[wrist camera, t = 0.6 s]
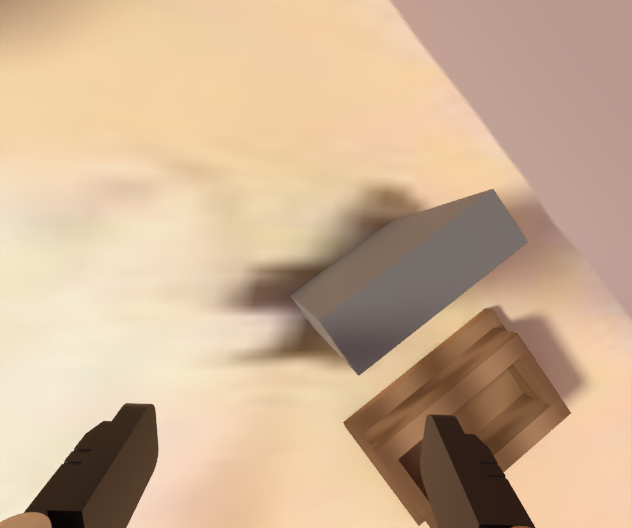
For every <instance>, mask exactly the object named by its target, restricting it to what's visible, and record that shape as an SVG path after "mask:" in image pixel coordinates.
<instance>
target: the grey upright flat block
mask: <svg viewBox="0 0 632 528" xmlns="http://www.w3.org/2000/svg"><path fill="white" fill-rule="evenodd" d="M526 243H528V241H527V240H526V238H525V237H524V235H523V234H522V232H521V231H520V229H519V228H518V226H517V225H516V223H515V222H514V220H513V219H512V217H511V215H510V214H509V212H508V211H507V209H506V208H505V206H504V205H503V203H502V202H501V200H500V199H499V197H498V196H497V194H496V192H495V191H494V189H491V190H488V191H485V192H481V193H478V194H475V195H472V196H469V197H466V198H463V199H459V200H456V201H453V202H450V203H447V204H444V205H441V206H437V207H434V208H431V209H428V210H425V211H422V212H418V213H415V214H412V215H409V216H406V217H403V218H400V219H396V220H393V221H390V222H389V223H387V224H386V225H385V226H383V227H382V228H381V229H379V230H378V231H377V232H375V233H374V234H373V235H371V236H370V237H368V238H367V239H366V240H364V241H363V242H362V243H360V244H359V245H358V246H356V247H355V248H354V249H352V250H351V251H349V252H348V253H347V254H345V255H344V256H343V257H341V258H340V259H339V260H337V261H336V262H335V263H333V264H332V265H330V266H329V267H328V268H326V269H325V270H324V271H322V272H321V273H320V274H318V275H317V276H316V277H314V278H313V279H311V280H310V281H309V282H307V283H306V284H305V285H303V286H302V287H301V288H299V289H298V290H297V291H295V292H294V293H292V294H291V295H290V296H291V298H292V299H293V300H294V302H295V303H296V304H297V306H298V307H299V309H300V310H301V311H302V313H303V314H304V315H305V317H306V318H307V320H308V321H309V322H310V324H311V325H312V326H313V327H314V329H315V330H316V331H317V332H318V333H319V334H320V335H321V336H322V337H323V338H324V339H325V340H326V341H327V342H328V343H329V345H330V346H331V347H332V348H333V349H334V350H335V351H336V352H337V353H338V354H339V355H340V356H341V357H342V358H343V360H344V361H345V362H346V363H347V364H348V365H349V366H350V367H351V368H352V369H353V370H354V371H355V372H356V373H357V374H358V376H359V375H360V374H362V373H363V372H364V371H365V370H367V369H368V368H369V367H370V366H372V365H373V364H374V363H375V362H377V361H378V360H379V359H381V358H382V357H383V356H384V355H386V354H387V353H388V352H389V351H391V350H392V349H393V348H394V347H396V346H397V345H398V344H400V343H401V342H402V341H403V340H405V339H406V338H407V337H408V336H410V335H411V334H412V333H413V332H415V331H416V330H417V329H419V328H420V327H421V326H422V325H424V324H425V323H426V322H427V321H429V320H430V319H431V318H432V317H434V316H435V315H436V314H438V313H439V312H440V311H441V310H443V309H444V308H445V307H446V306H448V305H449V304H450V303H451V302H453V301H454V300H455V299H457V298H458V297H459V296H460V295H462V294H463V293H464V292H465V291H467V290H468V289H469V288H470V287H472V286H473V285H474V284H476V283H477V282H478V281H479V280H481V279H482V278H483V277H484V276H486V275H487V274H488V273H489V272H491V271H492V270H493V269H495V268H496V267H497V266H498V265H500V264H501V263H502V262H503V261H505V260H506V259H507V258H508V257H510V256H511V255H512V254H514V253H515V252H516V251H517V250H519V249H520V248H521V247H522V246H524V245H525V244H526Z"/></svg>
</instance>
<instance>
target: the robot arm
mask: <svg viewBox="0 0 632 528" xmlns="http://www.w3.org/2000/svg"><path fill="white" fill-rule="evenodd" d="M157 458H158V436H157V424H156V412H155V407H154V405H153V404H134V403H126V404H124V405H123V406H122V408H121V409H120V411H119V412H118V413H117V415H116V416H115V417H114V419H113V420H112V421H103V422H101V423H100V424H99V425H97V426H96V427H94V428H93V429H92V430H90V431H89V432H88V433H86V434H85V435H84V437H83V438H82V439H81V441H80V442H79V443H78V444H77V446H76V447H75V448H74V451H73V452H71V453H70V455H69V456H68V457H67V458H66V460H65V461H64V464H62V465H61V466H60V467H59V469H58V470H57V471H56V472H55V474H54V475H53V476H52V478H51V479H50V480H49V481H48V483H47V484H46V485H45V486H44V488H43V489H42V490H41V492H40V493H39V494H38V495H37V497H36V498H35V499H34V500H33V502H32V503H31V504H30V506H29V507H28V508H27V509H26V511H25V512H24V513H22V514H18V515H15V516H12V517H10V518H8V519H6V520H3V521H2V522H0V528H126V527H127V525H128V523H129V521H130V519H131V517H132V515H133V513H134V511H135V509H136V507H137V505H138V503H139V500H140V498H141V496H142V494H143V492H144V490H145V488H146V486H147V484H148V482H149V480H150V478H151V476H152V474H153V472H154V469H155V466H156V463H157ZM420 469H421V476H422V480H423V483H424V486H425V490H426V493H427V496H428V499H429V502H430V505H431V508H432V511H433V514H434V517H435V520H436V523H437V526H438V528H535V526H534V524H533V523H532V521H531V519H530V518H529V516H528V514H527V512H526V511H525V509H524V507H523V505H522V504H521V502H520V500H519V499H518V497H517V495H516V493H515V492H514V490H513V488H512V487H511V485H510V483H509V481H508V480H507V479H506V478H505V474H504V473H503V471H502V469H501V468H500V466H498V462H497V461H496V459H495V457H494V456H493V454H492V452H491V450H490V449H489V447H488V446H487V445H485V444H484V443H483V442H482V441H481V440H480V439H479V438H478V437H477V436H476V435H474V434H465V433H464V431H463V429H462V427H461V425H460V424H459V422H458V420H457V418H456V417H455V416H454V415H436V414H428V415H427V417H426V422H425V429H424V436H423V442H422V449H421V456H420Z"/></svg>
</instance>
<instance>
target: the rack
mask: <svg viewBox="0 0 632 528" xmlns="http://www.w3.org/2000/svg"><path fill="white" fill-rule="evenodd" d="M428 414H436V415H454V416H455V417H456V418H457V420H458V422H459V424H460V425H461V427H462V429H463V431H464V433H465V434H474V435H476V436H477V437H478V438H479V439H480V440H481V441H482V442H483V443H484V444H485V445H487V446H488V447H489V449H490V450H491V452H492V454H493V456H494V457H495V459H496V461H497V462H498V466H500V468H501V469H502V471H503V472H505V471H506V470H507V469H508V468H509V467H510V466H511V465H512V464H514V463H515V462H516V461H517V460H518V459H519V458H520V457H522V456H523V455H524V454H525V453H526V452H527V451H528V450H530V449H531V448H532V447H533V446H534V445H535V444H536V443H538V442H539V441H540V440H541V439H542V438H543V437H544V436H546V435H547V434H548V433H549V432H550V431H551V430H552V429H554V428H555V427H556V426H557V425H558V424H559V423H560V422H561V421H563V420H564V419H565V418H566V417H567V416H568V415H569V414H571V412H570V411H569V409H568V408H567V406H566V405H565V403H564V402H563V401H562V399H561V398H560V396H559V395H558V393H557V392H556V390H555V389H554V387H553V386H552V384H551V383H550V381H549V380H548V378H547V377H546V375H545V374H544V372H543V371H542V369H541V368H540V366H539V365H538V363H537V362H536V360H535V359H534V357H533V356H532V354H531V353H530V351H529V350H528V348H527V347H526V346H525V344H524V343H523V341H522V340H521V338H520V337H519V335H518V334H515V333H512V332H508V331H506V329H505V328H504V327H503V325H502V324H501V322H500V321H499V319H498V318H497V316H496V315H495V313H494V312H493V310H490V309H484V310H483V311H482V312H480V313H479V314H478V315H477V316H475V317H474V318H473V319H472V320H470V321H469V322H468V323H467V324H465V325H464V326H463V327H462V328H460V329H459V330H458V331H457V332H455V333H454V334H453V335H452V336H450V337H449V338H448V339H447V340H445V341H444V342H443V343H442V344H440V345H439V346H438V347H437V348H435V349H434V350H433V351H432V352H430V353H429V354H428V355H427V356H425V357H424V358H423V359H422V360H420V361H419V362H418V363H417V364H415V365H414V366H413V367H412V368H411V369H409V370H408V371H407V372H406V373H404V374H403V375H402V376H401V377H399V378H398V379H397V380H396V381H394V382H393V383H392V384H391V385H389V386H388V387H387V388H386V389H384V390H383V391H382V392H381V393H379V394H378V395H377V396H376V397H374V398H373V399H372V400H371V401H369V402H368V403H367V404H366V405H364V406H363V407H362V408H361V409H359V410H358V411H357V412H356V413H354V414H353V415H352V416H351V417H349V418H348V419H347V420H346V421H344V422H343V423H344V425H345V427H346V428H347V430H348V431H349V432H350V434H351V435H352V436H353V438H354V439H355V440H356V442H357V443H358V444H359V446H360V447H361V448H362V450H363V451H364V453H365V454H366V455H367V457H368V458H369V459H370V461H371V462H372V463H373V465H374V466H375V467H376V469H377V470H378V471H379V473H380V474H381V475H382V477H383V478H384V480H385V481H386V482H387V484H388V485H389V486H390V488H391V489H392V490H393V492H394V493H395V494H396V496H397V497H398V498H399V500H400V501H401V502H402V504H403V505H404V507H405V508H406V509H407V511H408V512H409V513H410V515H411V516H412V517H413V519H414V520H415V521H416V523H417V524H418V525H420V524H422V523H423V522H424V521H426V522H427V524H428V525H429V526H430V528H438V526H437V523H436V520H435V517H434V514H433V511H432V508H431V505H430V502H429V499H428V496H427V493H426V490H425V486H424V483H423V480H422V476H421V469H420V456H421V449H422V442H423V436H424V429H425V422H426V417H427V415H428Z"/></svg>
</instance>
